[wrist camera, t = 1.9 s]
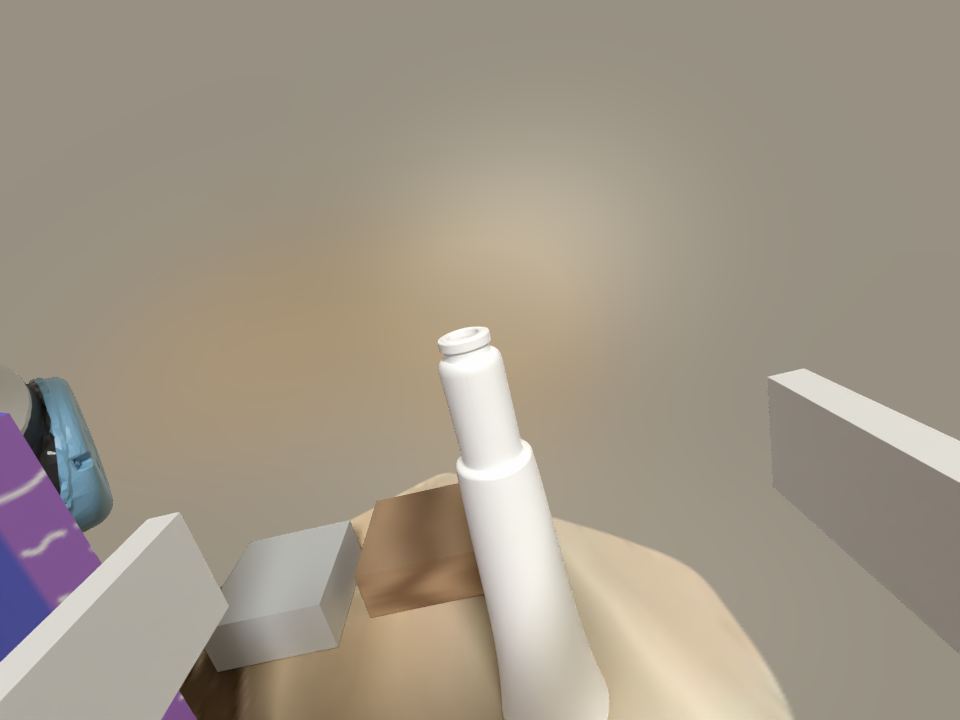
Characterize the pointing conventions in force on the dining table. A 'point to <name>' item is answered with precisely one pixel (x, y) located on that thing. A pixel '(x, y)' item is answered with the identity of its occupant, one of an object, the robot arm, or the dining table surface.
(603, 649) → the dining table surface
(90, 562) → the cereal box
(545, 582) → the cosmetic bottle
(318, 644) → the grey stand
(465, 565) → the walnut stand
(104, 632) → the robot arm
